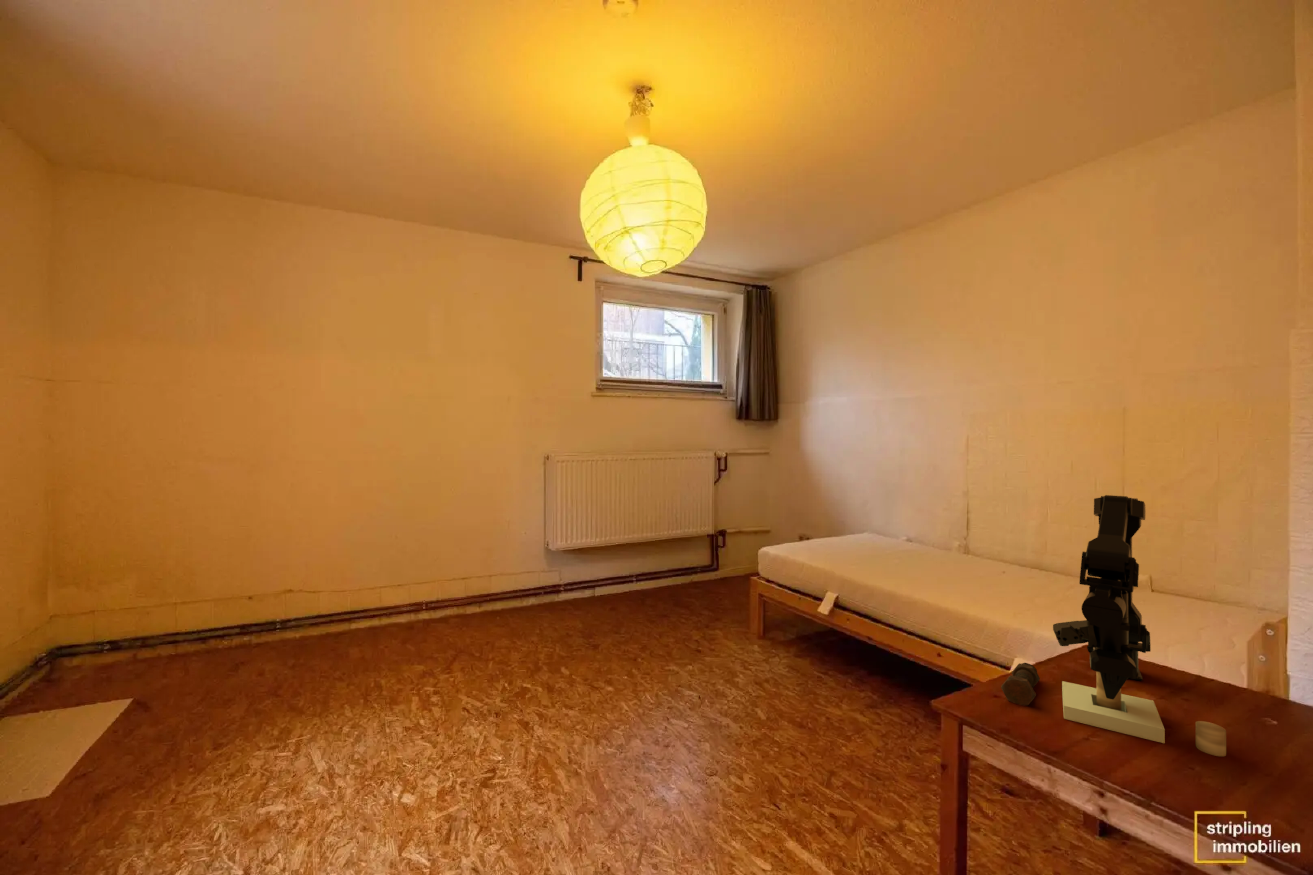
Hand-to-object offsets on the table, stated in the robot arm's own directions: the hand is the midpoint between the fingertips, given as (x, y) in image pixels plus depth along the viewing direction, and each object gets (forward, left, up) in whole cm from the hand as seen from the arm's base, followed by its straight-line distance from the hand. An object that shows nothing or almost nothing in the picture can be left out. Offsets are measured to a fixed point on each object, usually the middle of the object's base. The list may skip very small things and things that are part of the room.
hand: (1108, 694), depth 101 cm
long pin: (0, 0, -2) cm, 2 cm away
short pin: (+4, +13, -4) cm, 14 cm away
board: (0, 0, -4) cm, 4 cm away
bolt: (-3, -14, -5) cm, 15 cm away
